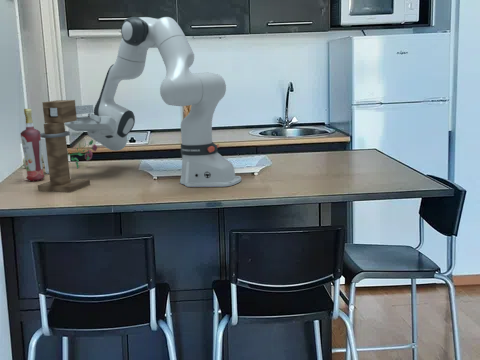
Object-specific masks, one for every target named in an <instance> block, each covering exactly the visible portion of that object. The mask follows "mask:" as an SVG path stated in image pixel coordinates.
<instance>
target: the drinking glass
mask: <svg viewBox="0 0 480 360" xmlns="http://www.w3.org/2000/svg"><path fill="white" fill-rule="evenodd" d="M41 152H42V156H43V160H44V163H43V164H44V171H45V173H46V174H47V175H49V167H48V159H47V150H46V141H45V138H42V137H41Z"/></svg>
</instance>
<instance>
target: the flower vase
mask: <svg viewBox="0 0 480 360" xmlns="http://www.w3.org/2000/svg"><path fill="white" fill-rule="evenodd" d="M84 142H85V143H84V146H83V148H82V149H83V150H82V149H81V148H79V147H77V148H76V150H77V151H76V152H72V153H71V154H69V153H68V150H67V154H68V156H76V155H78V156H80V157H81V156H83V155H84V159H85V160H86V161H88V162H89V161H90V160H92V158H93V151H94V152H96V151H97V150H98V146H97V145H96V143H94V139H91V140H90V141H89V142H88V146H91V148H87V149H86V148H85V147H86V141H84ZM93 143H94V144H93ZM78 145H79V146H81V144H80V142H78ZM81 152H82V153H81ZM70 160H71V161H72V162H73V161H74V162H75V165H76V169H79V167H80V165H79V163H80V161H79V159H78V157H71V159H70ZM22 164H23V166H24V168H25V169H26V163H25V157H23V158H22ZM42 164H44V160H43V156H42Z"/></svg>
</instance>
